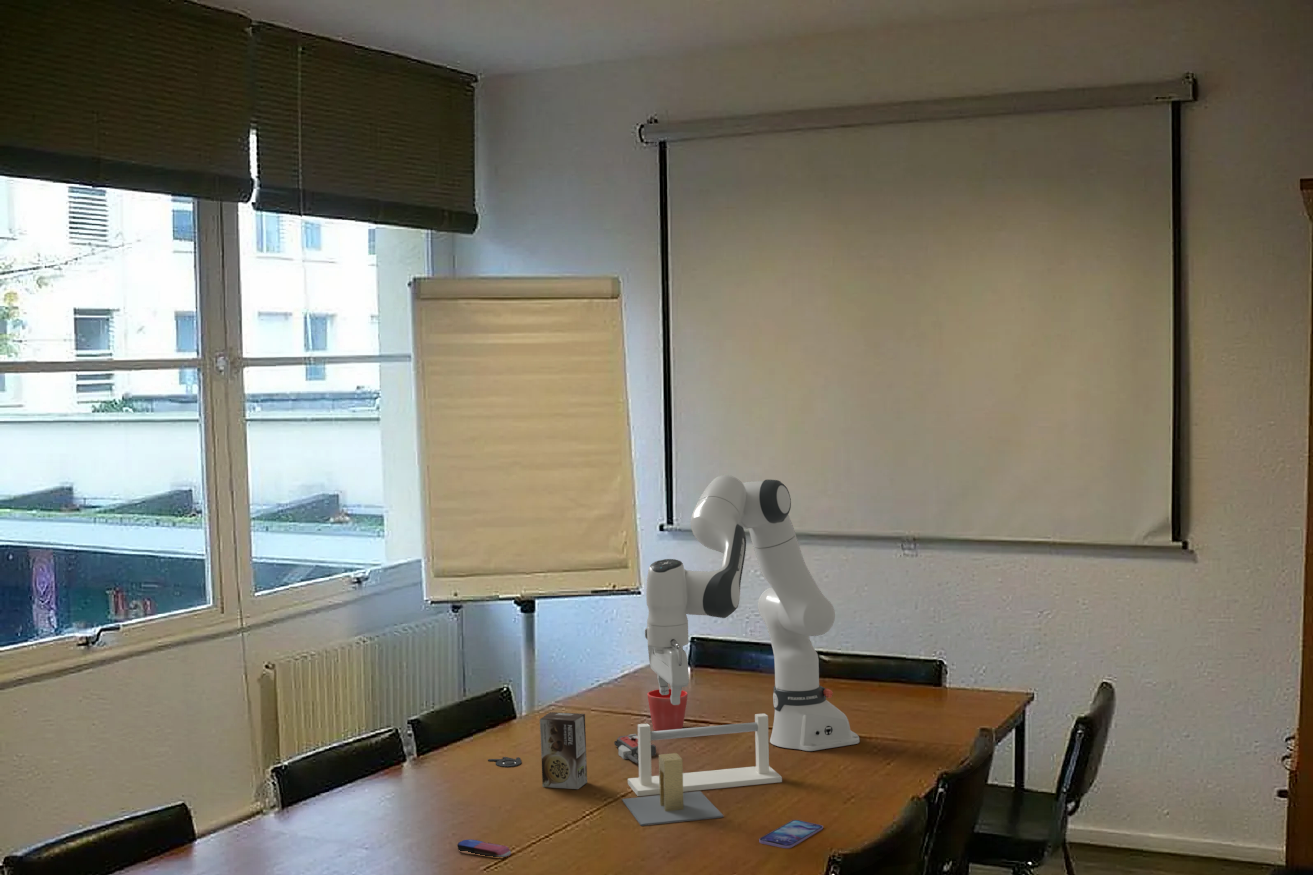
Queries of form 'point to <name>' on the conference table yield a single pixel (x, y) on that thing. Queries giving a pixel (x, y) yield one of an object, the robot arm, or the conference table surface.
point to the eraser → (484, 848)
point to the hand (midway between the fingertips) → (669, 699)
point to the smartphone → (790, 834)
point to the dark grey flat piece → (507, 762)
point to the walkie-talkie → (630, 747)
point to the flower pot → (666, 710)
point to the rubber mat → (654, 813)
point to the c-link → (671, 781)
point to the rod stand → (706, 779)
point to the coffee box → (563, 750)
